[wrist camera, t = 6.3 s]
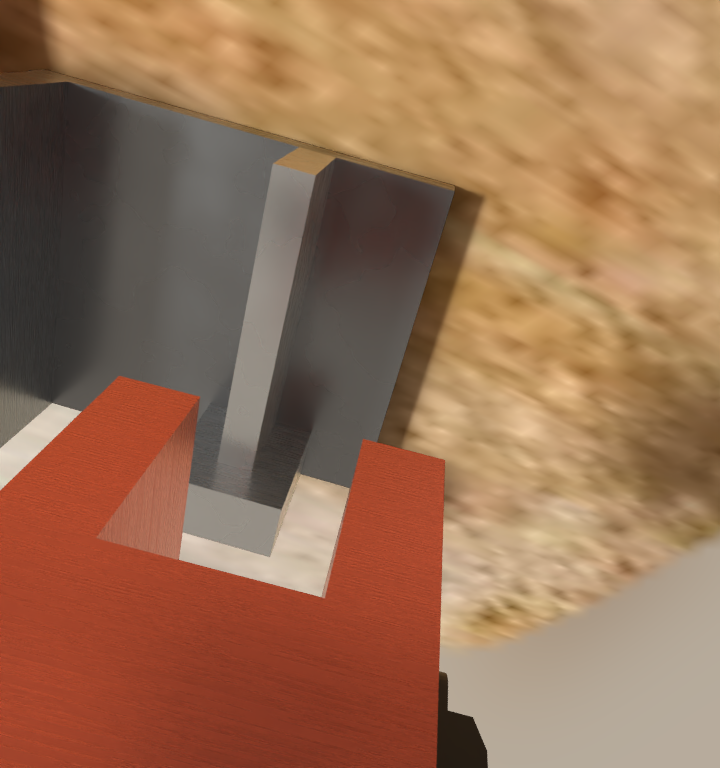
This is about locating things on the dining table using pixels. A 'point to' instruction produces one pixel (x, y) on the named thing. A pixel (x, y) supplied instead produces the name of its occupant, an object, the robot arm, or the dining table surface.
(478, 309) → the dining table surface
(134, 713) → the block
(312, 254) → the bracket
